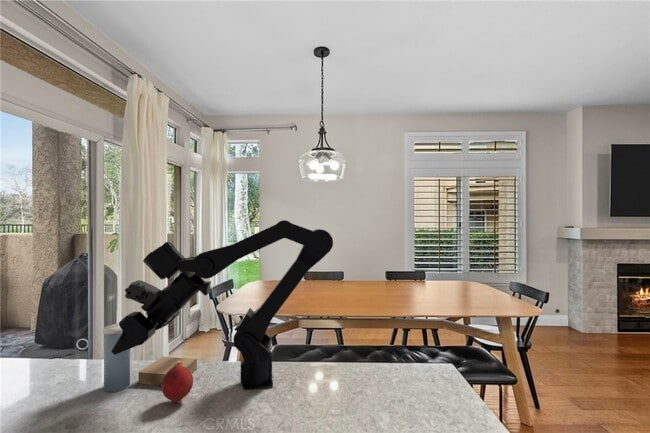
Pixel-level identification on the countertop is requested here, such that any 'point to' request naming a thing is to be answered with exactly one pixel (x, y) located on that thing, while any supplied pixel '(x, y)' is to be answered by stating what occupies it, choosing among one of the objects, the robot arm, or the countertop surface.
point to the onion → (177, 382)
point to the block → (163, 369)
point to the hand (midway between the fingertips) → (124, 345)
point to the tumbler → (115, 361)
